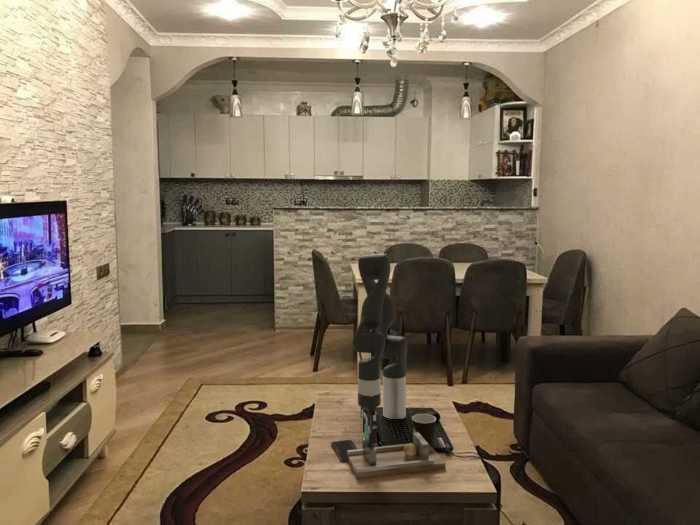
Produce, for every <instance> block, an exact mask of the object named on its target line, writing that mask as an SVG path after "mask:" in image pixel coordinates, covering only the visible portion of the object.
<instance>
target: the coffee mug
mask: <svg viewBox="0 0 700 525" xmlns="http://www.w3.org/2000/svg"><path fill="white" fill-rule="evenodd" d="M411 423H412V431H413V433H416V432H419V433H420V435H421V436H422V437H423V438H424V439H425V441H426V442H427V443H428V444H430V445H432V444H433V445H434V437H435V430H436V425H437V424H436V423H437V418H436V416H434V415H432V414H429V413H417V414H414V415H412V416H411Z"/></svg>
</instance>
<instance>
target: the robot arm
mask: <svg viewBox="0 0 700 525" xmlns="http://www.w3.org/2000/svg"><path fill="white" fill-rule="evenodd" d="M357 264H358V265H357V266H358V273H359V277H360V280H361V282H362V285H363V287H364V290H365V293H366V295H367V296H365V299H364V301H363V303H362V305H361V311H360V312H361V313H360V319H359V320H360V322H359V324H358V326H357V328H356V331H355V332H354V335H353V338H352V348H353V349H354V351H355V352H356V353H360V354H361V353H363V354H373V356H371V357H366V358H362V359H361V360H359V362H358V379H357V405H358V406H359V407H360V418H361V422H362V433H363V434H365V423H366V425H367V426H368V428H369V443H370V444H374V445H375V444H376V443H377V434H379V431H380V430H379V414H378V413H377V411H376V408H378V407H380V406H381V400H382V417H383V416H384V417H386V418H389V419H401V420H403V419H405V418H406V416H407V415H406V414H407V411H406V410H407V406H406V405H407V404H406V403H407V402H406V400H407V391H406V390H407V388H406V387H407V386H406V385H407V374H406V373H407V355H408V340H407V338H406V337H405V336H400V335H398V336H397V335H390V334H388V330H389V328H390V327H391V326H392V324H393V323H394V320H395V319H396V315H397V313H396V307H395V303H394V300H393V298H392V296H390V294H389V293H388V292H387V289H388V285H389V284H388V283H389V280H390V276H391V260H390V256H388V254H386V253H372V254H364V255H361V256H360V257H359V258H358V261H357ZM376 281H377V282H376ZM382 358H384V359H390V360H396V363H393V364H389V365H386V366H384V368H383V369H382V389H381V374H380V373H381V362H382V361H381V360H382ZM381 391H382V396H381ZM381 398H382V399H381ZM384 417H383V418H384ZM386 418H385V419H386ZM389 419H388V420H389ZM369 422H370V423H369ZM373 426H374V429H373Z"/></svg>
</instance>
